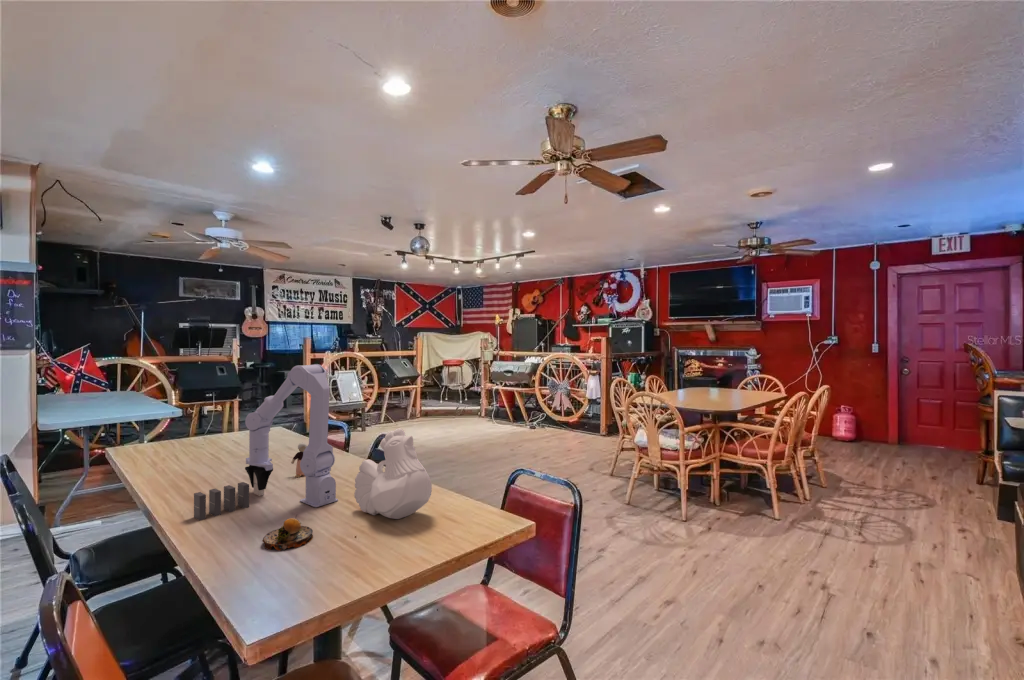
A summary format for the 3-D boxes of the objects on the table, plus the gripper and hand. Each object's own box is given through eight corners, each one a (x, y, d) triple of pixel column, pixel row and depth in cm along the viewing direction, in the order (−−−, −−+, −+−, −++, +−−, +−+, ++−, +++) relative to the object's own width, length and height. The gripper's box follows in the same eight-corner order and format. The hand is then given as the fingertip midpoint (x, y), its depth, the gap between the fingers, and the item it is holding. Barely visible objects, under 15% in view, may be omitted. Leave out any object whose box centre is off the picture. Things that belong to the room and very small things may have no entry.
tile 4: (205, 518, 135) (205, 494, 135) (199, 520, 133) (199, 496, 133) (200, 515, 137) (200, 491, 137) (193, 517, 136) (193, 493, 136)
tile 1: (249, 506, 144) (249, 484, 144) (243, 508, 143) (243, 485, 143) (243, 504, 147) (243, 481, 147) (237, 505, 145) (237, 483, 145)
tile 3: (220, 514, 138) (221, 491, 138) (214, 516, 137) (215, 492, 137) (215, 511, 140) (215, 488, 140) (209, 513, 139) (209, 489, 139)
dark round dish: (300, 528, 129) (300, 501, 129) (321, 540, 122) (322, 511, 122) (254, 542, 120) (254, 513, 120) (274, 556, 112) (275, 525, 112)
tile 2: (235, 510, 141) (235, 487, 141) (229, 512, 140) (229, 489, 140) (229, 507, 144) (229, 485, 144) (223, 509, 142) (223, 486, 142)
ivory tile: (264, 494, 156) (264, 473, 156) (259, 495, 155) (259, 474, 155) (258, 492, 158) (258, 471, 158) (253, 493, 157) (253, 472, 157)
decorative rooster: (448, 496, 136) (423, 422, 148) (405, 500, 123) (382, 419, 136) (397, 532, 146) (378, 460, 158) (353, 540, 134) (336, 461, 146)
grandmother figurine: (295, 479, 173) (295, 444, 173) (290, 477, 176) (290, 443, 176) (314, 474, 179) (314, 441, 179) (309, 472, 182) (309, 440, 182)
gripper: (282, 448, 155) (281, 489, 156) (260, 442, 164) (260, 481, 164) (260, 452, 150) (260, 494, 150) (239, 446, 158) (239, 486, 158)
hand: (258, 488), depth 157 cm, fingers closed on ivory tile, 4 cm apart
